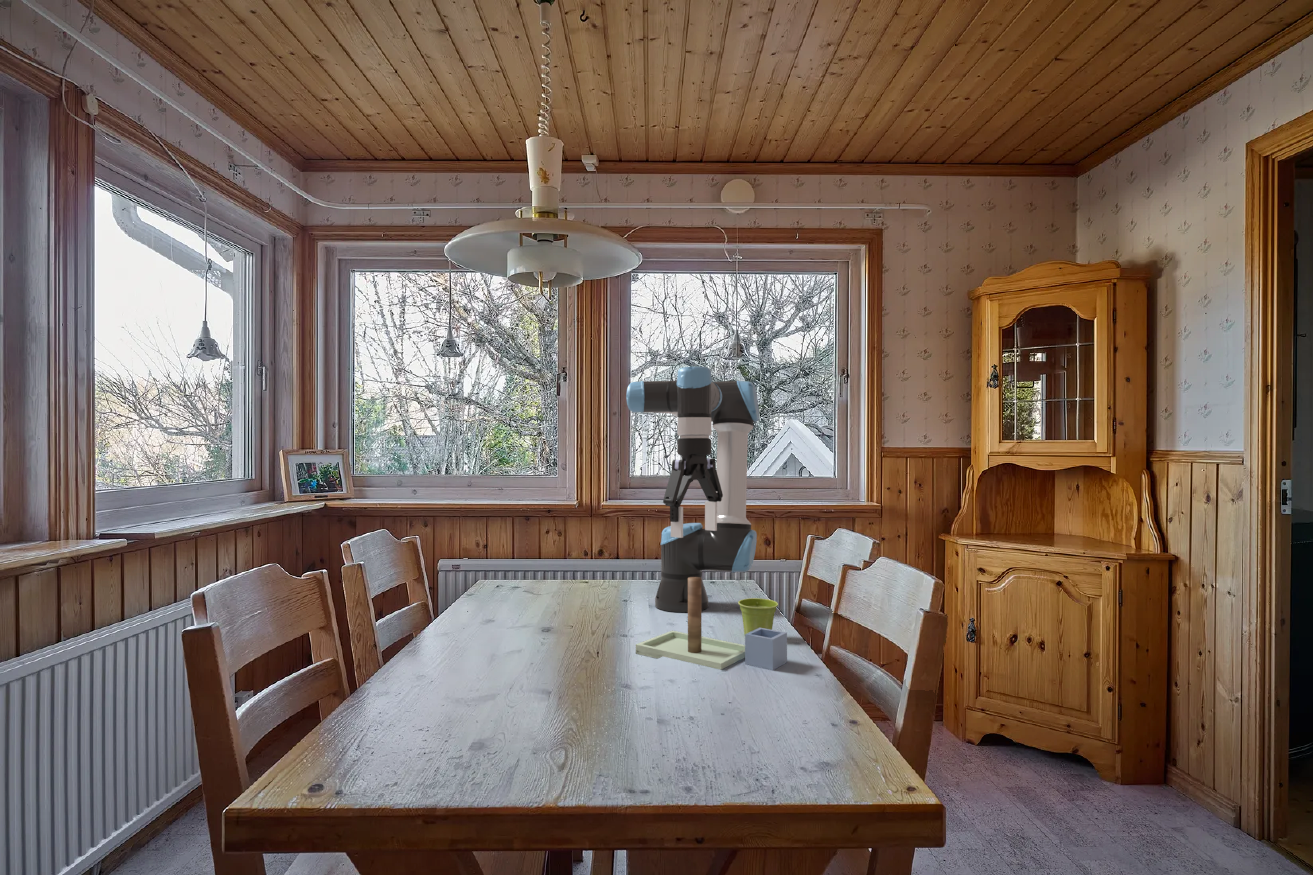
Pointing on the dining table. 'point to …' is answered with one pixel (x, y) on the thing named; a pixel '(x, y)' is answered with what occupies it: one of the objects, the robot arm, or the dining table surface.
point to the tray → (677, 648)
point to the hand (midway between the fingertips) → (694, 533)
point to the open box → (766, 648)
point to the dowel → (694, 615)
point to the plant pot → (757, 613)
